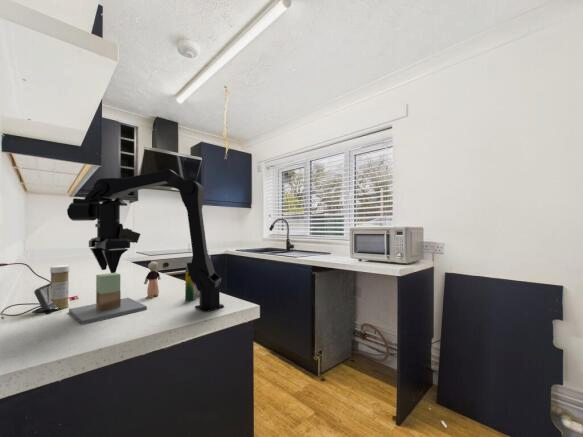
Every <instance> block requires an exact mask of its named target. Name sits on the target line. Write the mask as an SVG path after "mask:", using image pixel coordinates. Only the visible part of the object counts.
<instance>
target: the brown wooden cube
mask: <svg viewBox="0 0 583 437" xmlns="http://www.w3.org/2000/svg"><path fill="white" fill-rule="evenodd" d="M95 292H96V291H95ZM121 292H122V291H121V290H120V291H116V292H110V293H104V294H100V293H98V292H96V293H95V294H96V295H95V298H96V299H95V300H96V301H95V304H96V308H97V309H98V310H100V311H104V310H109V309H114V308H119V307H120V302H121V299H122V298H121V297H122V296H121Z"/></svg>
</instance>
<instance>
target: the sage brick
mask: <svg viewBox="0 0 583 437" xmlns="http://www.w3.org/2000/svg"><path fill="white" fill-rule="evenodd" d="M95 278H96V279H95V283H96V284H95V285H96V286H95V288H96V289H95V292H98V293H100V294H104V293H110V292H116V291H121V274H120V273H118V272H115V273H111V272H110V273H109V272H108V273H101V274H95Z"/></svg>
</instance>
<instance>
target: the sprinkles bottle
mask: <svg viewBox="0 0 583 437" xmlns="http://www.w3.org/2000/svg"><path fill="white" fill-rule="evenodd" d="M49 268H50V269H49V272H50V290H49V293H50V294H49V298H50V302H51V301H52V302H53V303H54V304H55V305H56V306H57V307H58V308H60V309H59V310H62V309H66V308H68V307H69V294H70V293H69V292H70V291H69V289H70V288H69V287H70V285H69V284H70V282H69V272H70V265H68V264H60V265H52V266H50V267H49Z"/></svg>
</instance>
